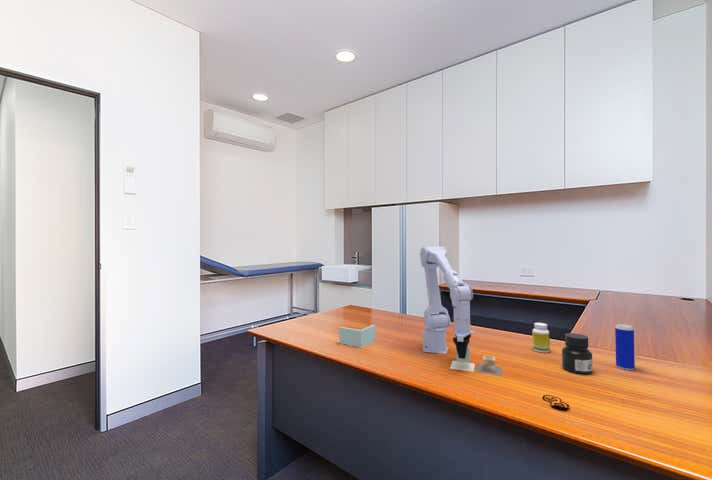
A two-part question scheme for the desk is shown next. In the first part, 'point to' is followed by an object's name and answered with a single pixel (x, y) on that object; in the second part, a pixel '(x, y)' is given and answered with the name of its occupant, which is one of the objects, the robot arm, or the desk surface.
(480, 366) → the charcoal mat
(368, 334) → the right angle wall
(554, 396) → the corroded twin loop
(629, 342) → the beverage can
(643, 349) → the desk surface
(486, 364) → the grey cube
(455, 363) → the off-white mat
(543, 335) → the pill bottle
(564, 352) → the ink bottle
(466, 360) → the sage green cube
